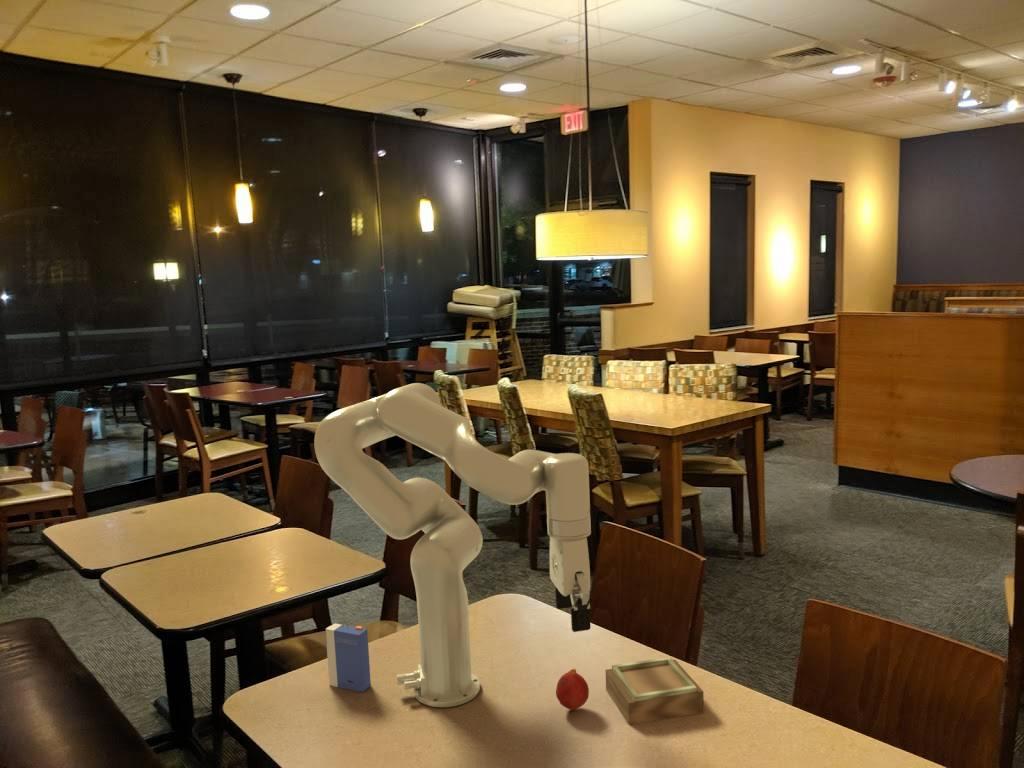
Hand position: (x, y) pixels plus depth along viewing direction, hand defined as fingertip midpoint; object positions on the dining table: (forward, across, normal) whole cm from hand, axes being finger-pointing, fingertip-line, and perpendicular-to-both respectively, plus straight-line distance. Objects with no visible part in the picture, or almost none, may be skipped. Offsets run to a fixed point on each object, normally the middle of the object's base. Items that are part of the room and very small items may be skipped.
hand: (572, 618), depth 139 cm
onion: (+18, 0, -1) cm, 18 cm away
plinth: (+18, +1, +14) cm, 23 cm away
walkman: (+17, -20, -40) cm, 48 cm away
